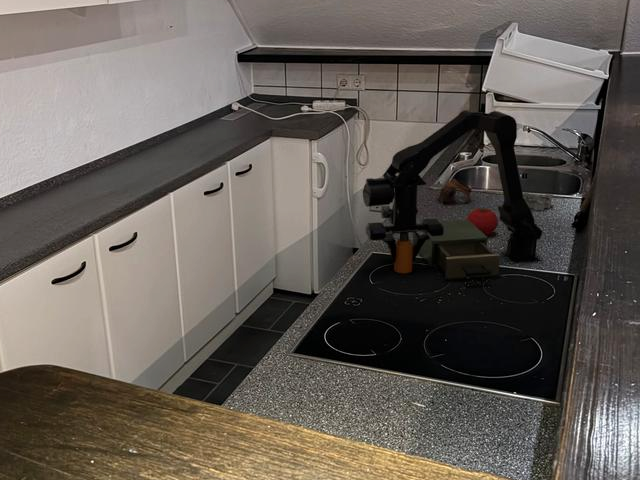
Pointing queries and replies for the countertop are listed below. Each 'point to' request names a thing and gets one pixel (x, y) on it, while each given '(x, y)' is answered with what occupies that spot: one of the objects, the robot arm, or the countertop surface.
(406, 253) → the bottle
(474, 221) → the tomato
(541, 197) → the egg carton
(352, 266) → the countertop surface
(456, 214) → the countertop surface
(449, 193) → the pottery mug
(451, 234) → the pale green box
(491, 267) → the drawer
